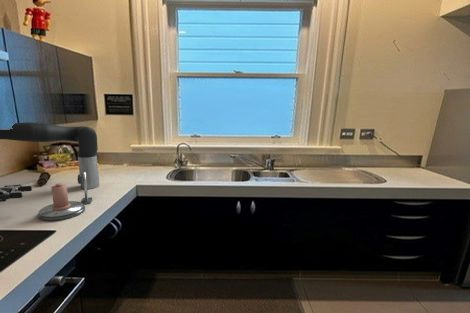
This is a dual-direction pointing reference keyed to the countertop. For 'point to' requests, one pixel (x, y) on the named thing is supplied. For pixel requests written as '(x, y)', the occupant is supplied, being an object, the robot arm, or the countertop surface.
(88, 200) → the dial gauge
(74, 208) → the disc
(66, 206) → the cover
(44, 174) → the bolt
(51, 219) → the base
